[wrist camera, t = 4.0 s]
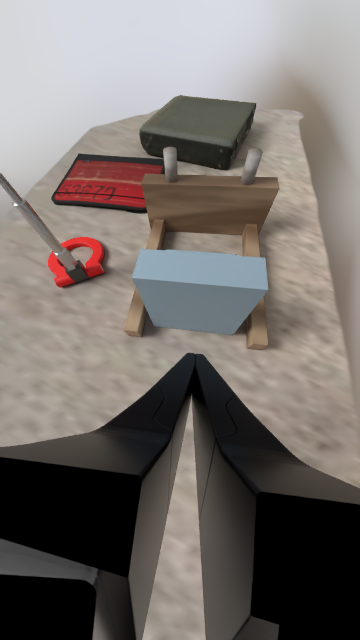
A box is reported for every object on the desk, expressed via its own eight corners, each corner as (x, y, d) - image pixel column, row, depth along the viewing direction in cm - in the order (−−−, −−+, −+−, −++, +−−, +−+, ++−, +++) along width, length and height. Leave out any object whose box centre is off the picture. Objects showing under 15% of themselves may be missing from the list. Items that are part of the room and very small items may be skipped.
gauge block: (232, 335, 21) (268, 289, 12) (154, 326, 22) (131, 277, 13) (232, 267, 25) (259, 195, 16) (168, 261, 26) (158, 191, 17)
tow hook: (51, 251, 28) (55, 292, 24) (-42, 147, 17) (-64, 192, 13) (100, 237, 30) (111, 273, 26) (44, 130, 18) (48, 166, 14)
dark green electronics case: (239, 175, 36) (247, 143, 31) (137, 163, 39) (131, 133, 34) (251, 127, 45) (258, 97, 40) (167, 121, 48) (166, 92, 43)
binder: (78, 151, 38) (169, 157, 35) (84, 164, 40) (170, 170, 38) (44, 198, 32) (150, 208, 30) (53, 210, 34) (152, 220, 32)
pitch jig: (268, 350, 20) (338, 313, 11) (122, 335, 21) (74, 290, 12) (256, 226, 29) (290, 147, 19) (153, 220, 30) (139, 144, 21)
